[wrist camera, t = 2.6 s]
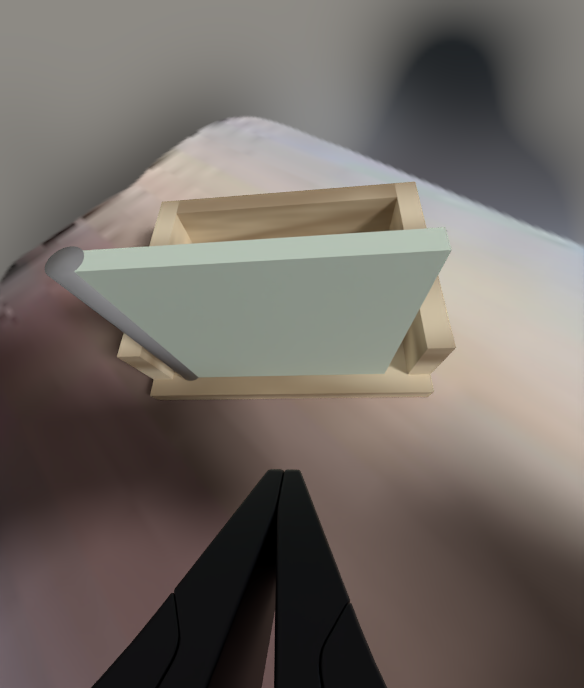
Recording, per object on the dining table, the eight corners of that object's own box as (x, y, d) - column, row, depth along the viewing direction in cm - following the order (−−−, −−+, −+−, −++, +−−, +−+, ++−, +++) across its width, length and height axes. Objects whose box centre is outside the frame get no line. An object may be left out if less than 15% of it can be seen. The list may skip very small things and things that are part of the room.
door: (385, 377, 16) (453, 255, 8) (180, 381, 17) (38, 279, 9) (382, 356, 17) (443, 221, 8) (184, 361, 18) (53, 247, 9)
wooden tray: (427, 396, 17) (461, 368, 13) (158, 400, 18) (111, 376, 14) (398, 237, 22) (415, 181, 18) (190, 250, 23) (162, 201, 19)
